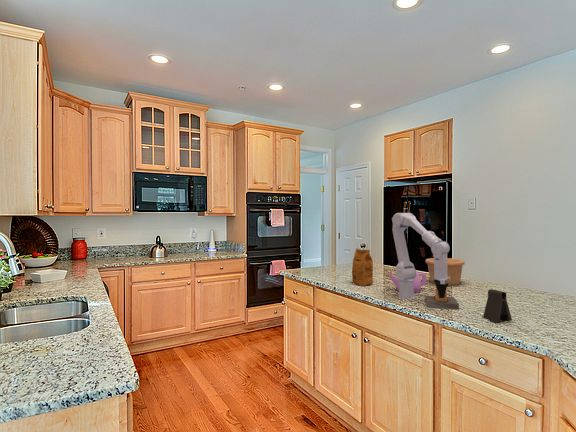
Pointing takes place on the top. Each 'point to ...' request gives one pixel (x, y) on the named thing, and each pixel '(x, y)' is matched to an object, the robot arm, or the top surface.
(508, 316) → the phone stand
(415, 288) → the teakettle
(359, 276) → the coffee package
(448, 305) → the pocket holder
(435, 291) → the orange block
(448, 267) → the pottery
